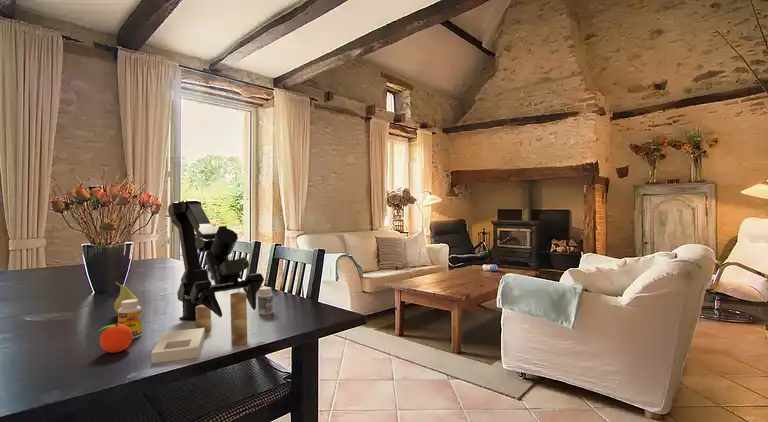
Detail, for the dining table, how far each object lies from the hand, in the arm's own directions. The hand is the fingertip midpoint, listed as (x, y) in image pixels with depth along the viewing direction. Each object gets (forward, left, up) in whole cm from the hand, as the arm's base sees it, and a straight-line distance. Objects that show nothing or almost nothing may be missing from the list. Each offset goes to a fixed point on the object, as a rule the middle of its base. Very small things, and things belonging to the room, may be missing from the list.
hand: (238, 312), depth 106 cm
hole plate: (-12, -7, -8) cm, 16 cm away
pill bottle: (-9, +27, -8) cm, 29 cm away
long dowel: (0, 0, -8) cm, 8 cm away
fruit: (-54, +14, -8) cm, 56 cm away
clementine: (-27, -13, -8) cm, 31 cm away
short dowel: (-17, +7, -8) cm, 20 cm away
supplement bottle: (-33, -3, -8) cm, 34 cm away
